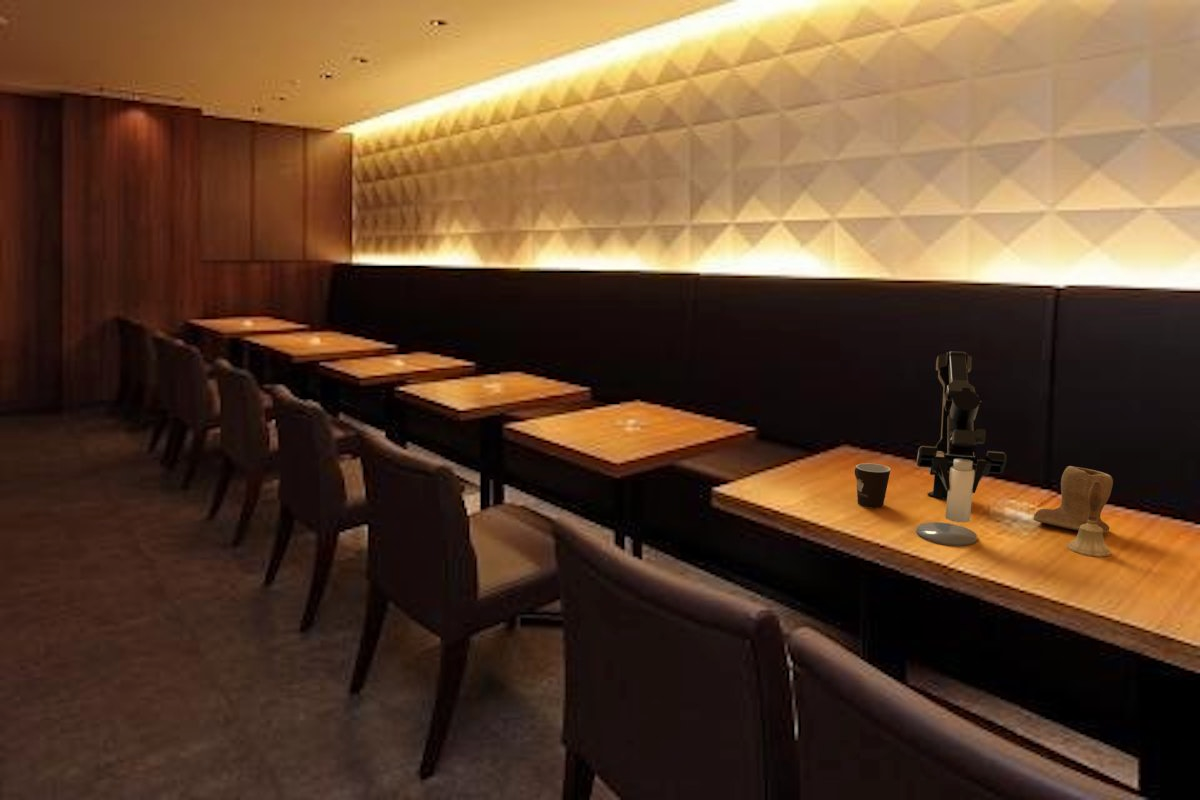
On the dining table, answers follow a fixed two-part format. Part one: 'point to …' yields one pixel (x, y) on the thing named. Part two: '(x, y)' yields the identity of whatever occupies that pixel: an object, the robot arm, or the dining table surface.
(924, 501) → the dining table surface
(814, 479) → the dining table surface
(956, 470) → the capped bottle
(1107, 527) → the brown boot
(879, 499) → the coffee mug
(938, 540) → the slate plate
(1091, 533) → the hand bell
